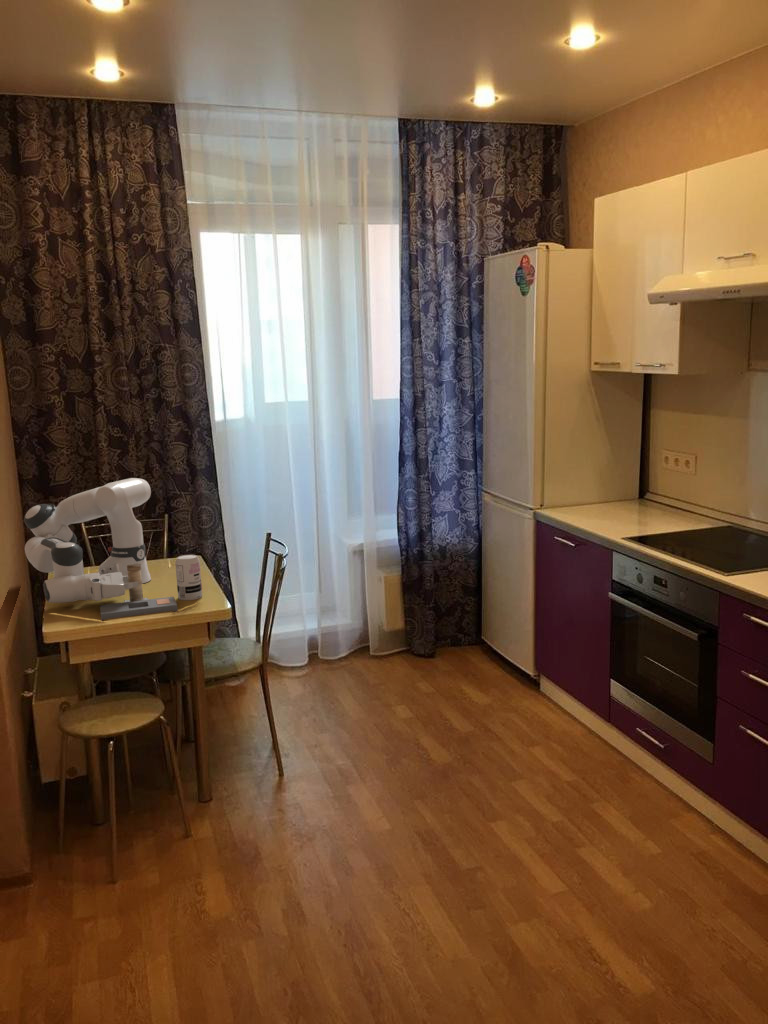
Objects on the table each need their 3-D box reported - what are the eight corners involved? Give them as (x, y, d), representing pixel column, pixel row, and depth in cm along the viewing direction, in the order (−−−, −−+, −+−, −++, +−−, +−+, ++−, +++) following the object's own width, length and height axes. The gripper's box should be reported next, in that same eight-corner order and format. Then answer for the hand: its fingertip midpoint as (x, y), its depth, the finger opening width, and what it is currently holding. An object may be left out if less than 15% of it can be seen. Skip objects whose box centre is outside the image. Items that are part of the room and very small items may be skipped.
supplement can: (182, 595, 298) (179, 554, 296) (205, 595, 298) (202, 554, 295) (174, 602, 291) (171, 559, 288) (198, 602, 290) (194, 559, 287)
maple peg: (127, 602, 289) (124, 565, 287) (136, 599, 293) (133, 563, 291) (136, 604, 287) (133, 567, 285) (146, 600, 291) (143, 564, 289)
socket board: (101, 621, 271) (100, 613, 271) (100, 612, 281) (99, 604, 281) (177, 611, 279) (177, 604, 278) (174, 603, 289) (173, 595, 289)
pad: (125, 608, 285) (125, 606, 285) (124, 602, 293) (124, 600, 293) (149, 605, 288) (149, 603, 288) (148, 599, 295) (147, 597, 295)
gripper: (95, 587, 295) (136, 583, 300) (96, 602, 276) (140, 597, 281) (93, 570, 294) (135, 565, 298) (94, 583, 275) (138, 578, 279)
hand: (137, 581), depth 289 cm, fingers open, 6 cm apart
